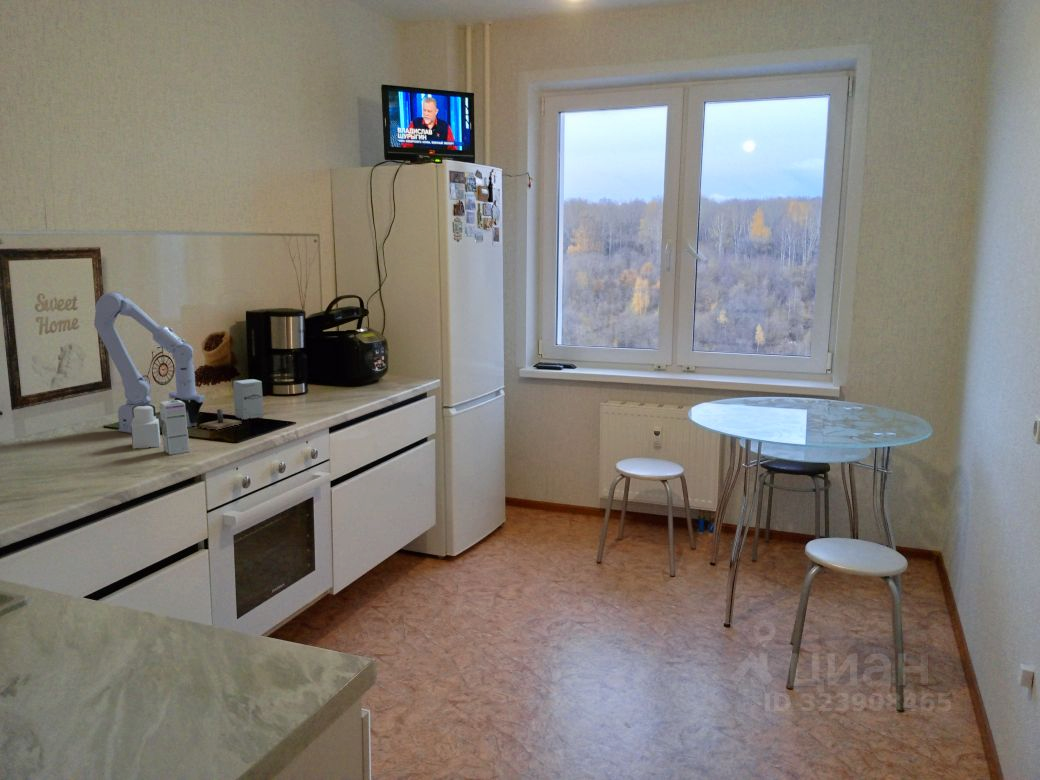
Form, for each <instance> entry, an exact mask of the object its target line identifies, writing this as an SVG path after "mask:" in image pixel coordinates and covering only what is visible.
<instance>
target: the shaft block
mask: <svg viewBox="0 0 1040 780" xmlns="http://www.w3.org/2000/svg"><path fill="white" fill-rule="evenodd" d="M216 414H217V415H216V416H217V417H216V418H217V419H216V420H212V421H207V422H203V423H200V424H199V428H200V427H202V428H201V429H203V428H207V429H206V430H210V429H216V430H218V429H222V428H226V427H230V426H234V425H238V426H240V425H239V424H242V420H238V419H229V418H224V415H223V409H221V408H219V409H216ZM234 427H235V426H234ZM230 428H231V427H230ZM226 429H227V428H226ZM216 430H215V431H216ZM222 430H223V429H222ZM218 431H219V430H218Z"/></svg>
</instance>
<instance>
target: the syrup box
mask: <svg viewBox="0 0 1040 780" xmlns="http://www.w3.org/2000/svg"><path fill="white" fill-rule="evenodd" d="M158 403H159V412H160V413H159V414H160V415H159V416H160V424H161V432H162V434H161V435H162V436H161V437H162V443H163V446H162V447H163V451H164V452H165V453H166V454H168V455H170V456H173V455H178V454H185V453H189V452H190V441H189V432H188V428H187V419H186V409H185V403H184V402H182V401H180V400H175V399H171V400H170V399H169V400H165V401H159V402H158Z"/></svg>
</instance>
